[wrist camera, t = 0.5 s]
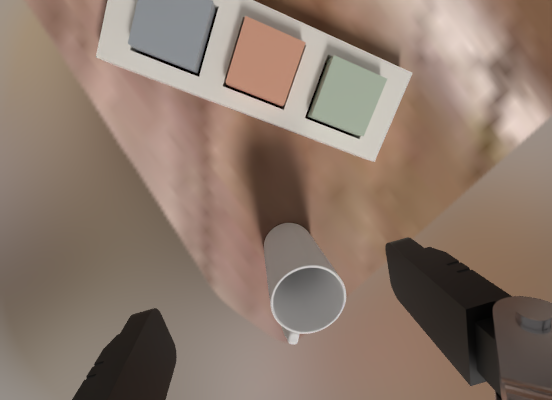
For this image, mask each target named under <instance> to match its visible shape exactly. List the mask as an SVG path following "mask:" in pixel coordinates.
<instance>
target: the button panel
mask: <svg viewBox="0 0 552 400" xmlns="http://www.w3.org/2000/svg"><path fill="white" fill-rule="evenodd" d="M211 1H213V3H214V7H215V14H216V18H215V22H214V25H213V29H212V32H211V36H210V39H209V43H208V46H207V50H206V54H205V57H204V61H203V64H202V68H201V71H200V75H199V77H198V76H195V75H193V74H190V73H188V72H185V71H182V70H180V69H177V68H175V67H172V66H170V65H167V64H164V63H162V62H159V61H157V60H154V59H152V58H149V57H146V56H144V55H141V54H140V51H138V50H136V49H135V48H133V47H132V46H130V45H129V44H128V40H129V36H130V31H131V27H132V23H133V18H134V14H135V9H136V5H137V0H108V1H107V6H106V11H105V16H104V20H103V25H102V30H101V35H100V40H99V45H98V49H97V54H96V57H97V58H99V59H101V60H103V61H105V62H107V63H110V64H112V65H115V66H118V67H120V68H123V69H126V70H128V71H131V72H134V73H136V74H139V75H142V76H144V77H147V78H150V79H152V80H155V81H158V82H160V83H163V84H166V85H168V86H171V87H174V88H176V89H179V90H182V91H184V92H187V93H190V94H192V95H195V96H198V97H200V98H203V99H206V100H208V101H211V102H214V103H216V104H219V105H222V106H224V107H227V108H230V109H232V110H235V111H238V112H240V113H243V114H246V115H248V116H251V117H254V118H256V119H259V120H262V121H264V122H267V123H270V124H272V125H275V126H278V127H280V128H283V129H286V130H288V131H291V132H294V133H296V134H299V135H302V136H304V137H307V138H310V139H312V140H315V141H318V142H320V143H323V144H326V145H328V146H331V147H334V148H336V149H339V150H342V151H344V152H347V153H349V154H352V155H355V156H357V157H360V158H363V159H366V160H369V161H373V162H375V159H376V157H377V155H378V152H379V150H380V148H381V145H382V143H383V141H384V138H385V136H386V134H387V131H388V129H389V127H390V124H391V122H392V120H393V117H394V115H395V113H396V110H397V108H398V106H399V103H400V101H401V99H402V96H403V94H404V92H405V89H406V87H407V85H408V82H409V80H410V78H411V75H412V72H409V71H407V70H405V69H403V68H401V67H398V66H396V65H394V64H392V63H390V62H387V61H385V60H383V59H381V58H379V57H377V56H374V55H372V54H370V53H368V52H366V51H363V50H361V49H359V48H357V47H355V46H352V45H350V44H348V43H346V42H344V41H342V40H339V39H337V38H335V37H333V36H331V35H328V34H326V33H324V32H322V31H320V30H317V29H315V28H313V27H311V26H309V25H306V24H304V23H302V22H300V21H298V20H296V19H293V18H291V17H289V16H287V15H285V14H282V13H280V12H278V11H276V10H274V9H271V8H269V7H267V6H265V5H263V4H261V3H258V2H256V1H254V0H211ZM245 16H247V17H249V18H252V19H254V20H256V21H258V22H261V23H263V24H265V25H267V26H270V27H272V28H274V29H276V30H279V31H281V32H283V33H285V34H288V35H290V36H292V37H294V38H297V39H299V40H301V41H303V42H306V43H305V46H304V49H303V52H302V55H301V58H300V61H299V63H298V66H297V69H296V72H295V75H294V78H293V81H292V84H291V87H290V89H289V92H288V95H287V98H286V101H285V104H284V105H283V106H282V109H280V108H278V107H275V106H272V105H270V104H267V103H265V102H262V101H260V100H257V99H254V98H252V97H249V96H247V95H244V94H242V93H239V92H236V91H234V90H231V89H229V88H226V87H225V85H226V79H227V75H228V72H229V69H230V65H231V62H232V59H233V55H234V52H235V49H236V45H237V42H238V39H239V35H240V32H241V29H242V25H243V22H244V19H245ZM334 55H335V56H337V57H339V58H342V59H344V60H346V61H348V62H351V63H353V64H355V65H358V66H360V67H362V68H364V69H367V70H369V71H371V72H373V73H376V74H378V75H380V76H382V77H385V78H387V81H386V83H385V86H384V88H383V91H382V93H381V96H380V98H379V100H378V103H377V105H376V108H375V110H374V113H373V115H372V117H371V120H370V122H369V125H368V127H367V129H366V132H365V134H364V136H356V135H354V134H353V135H352V136H350V135H347V134H345V133H342V132H339V131H337V130H334V129H332V128H329V127H327V126H324V125H321V124H319V123H316V122H314V121H311V120H309V119H306V118H305V116H306V113H307V111H308V108H309V105H310V102H311V100H312V97H313V94H314V91H315V89H316V86H317V83H318V80H319V78H320V75H321V72H322V70H323V67H324V64H325V62H327V61H328V60H329V59H330V58H331V57H332V56H334Z"/></svg>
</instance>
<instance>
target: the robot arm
mask: <svg viewBox="0 0 552 400" xmlns="http://www.w3.org/2000/svg"><path fill="white" fill-rule="evenodd" d="M386 256H387V262H388V269H389V275H390V282H391V286H392V288H393V291H394V293H395V295H396V297H397V299H398V300H399V301H400V303H401V304H402V305H403V306H404V307H405V309H406V310H407V311H408V312H409V313H410V314H411V316H412V317H413V318H414V319H415V321H416V322H417V323H418V324H419V325H420V326H421V328H422V329H423V330H424V331H425V332H426V334H427V335H428V336H429V337H430V338H431V340H432V341H433V342H434V343H435V344H436V346H437V347H438V348H439V349H440V350H441V351H442V353H443V354H444V355H445V356H446V357H447V359H448V360H449V361H450V362H451V363H452V365H453V366H454V367H455V368H456V369H457V370H458V372H459V373H460V374H461V375H462V376H463V378H464V379H465V380H466V381H467V382H468V384H469V385H470V386H472V385H476V384H479V383H483V382H486V381H487V382H488V383H489V384H490V386H492V388H493V389H494V390H495V400H552V303H550V302H548V301H545V300H541V299H537V298H532V297H523V296H514V297H512V296H511V295H509V294H508V293H506V292H505V291H503V290H502V289H500V288H499V287H497V286H495V285H494V284H493V283H491V282H489V281H488V280H486V279H485V278H484V277H482V276H481V275H479V274H478V273H476V272H475V271H473V270H470V269H469V267H467V266H466V265H464V264H463V263H459V261H458V260H457V259H455V258H453V257H452V256H451V255H449V254H448V253H446V252H443V251H440V250H437V249H434V248H431V247H427V248H423V247H422V246H421V245H419V244H418V243H417V242H415V241H414V240H412V239H411V238H409V237H408V238H404V239H400V240H397V241H393V242H390V243H387V244H386ZM175 364H176V348H175V344H174V342H173V340H172V337H171V335H170V333H169V331H168V329H167V327H166V324H165V322H164V320H163V317H162V315H161V313H160V311H159V310H158V309H156V308H154V309H150V310H147V311H143V312H140V313H136V314H133V315H131V316H130V318H129V319H128V321H127V323H126V324H125V326H124V328H123V330H122V332H121V333H120V334H119V335H117V336H116V337H115V338H114V339H113V340H112V341H111V342H110V343H109V344H108V345H107V346H106V347H105V348H104V349H103V351H102V352H101V354H100V356H99V357H98V359H97V360H96V362H95V364H94V365H95V366H94V367H92V369H91V370H90V372H89V373H88V375H87V379H86V380H84V381H83V383H82V385H81V386H80V388H79V389H78V391H77V393H76V394H75V396H74V398H73V399H72V400H165V399H166V396H167V392H168V389H169V385H170V382H171V378H172V375H173V371H174V368H175Z"/></svg>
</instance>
